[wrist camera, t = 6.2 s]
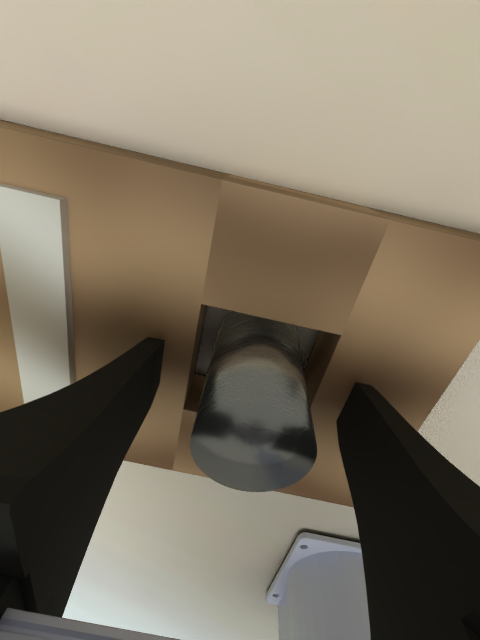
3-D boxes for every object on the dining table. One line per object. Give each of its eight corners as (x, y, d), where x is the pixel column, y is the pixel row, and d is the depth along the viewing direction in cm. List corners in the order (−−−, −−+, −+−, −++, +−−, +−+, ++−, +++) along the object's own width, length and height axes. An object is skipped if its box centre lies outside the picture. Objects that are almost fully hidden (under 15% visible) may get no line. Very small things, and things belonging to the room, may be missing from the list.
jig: (352, 466, 18) (366, 517, 15) (27, 398, 17) (-13, 440, 14) (486, 235, 11) (547, 258, 9) (-13, 116, 11) (-95, 106, 8)
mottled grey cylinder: (287, 378, 15) (298, 500, 10) (212, 365, 15) (184, 480, 10) (307, 312, 13) (334, 417, 8) (223, 297, 13) (196, 392, 8)
